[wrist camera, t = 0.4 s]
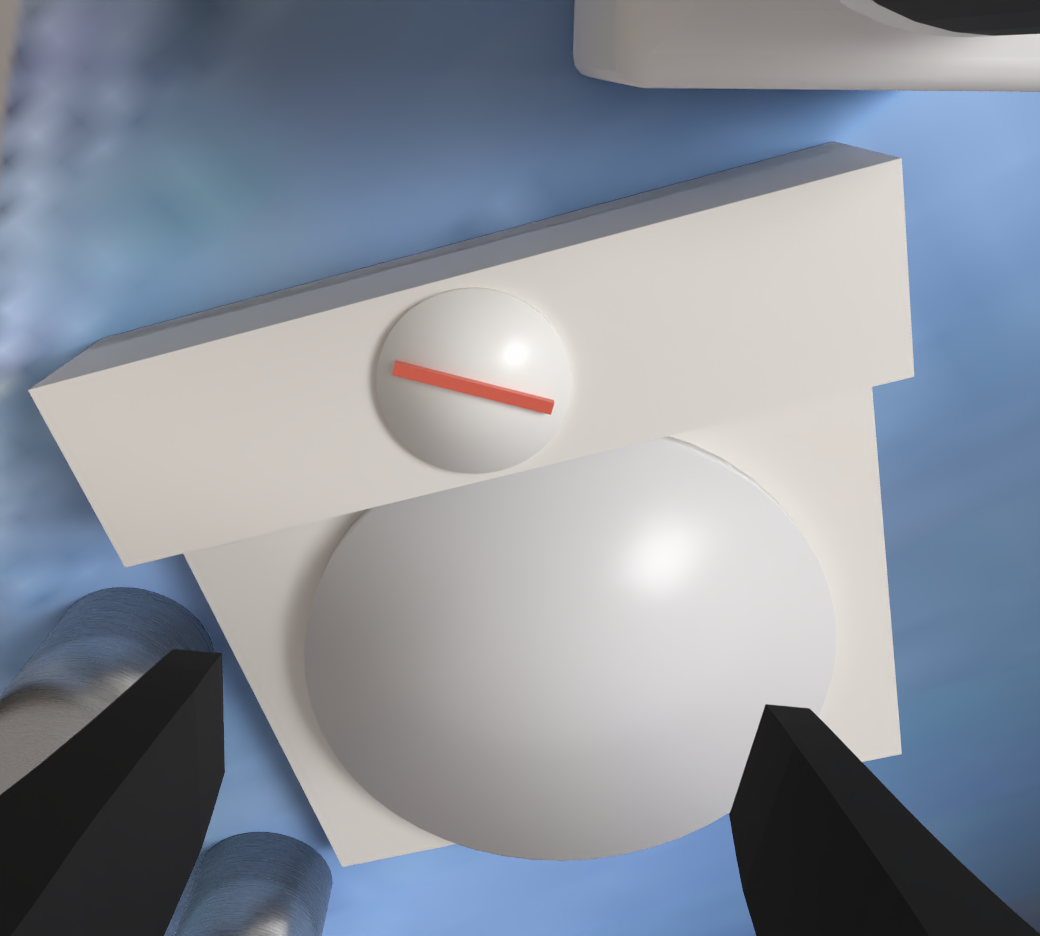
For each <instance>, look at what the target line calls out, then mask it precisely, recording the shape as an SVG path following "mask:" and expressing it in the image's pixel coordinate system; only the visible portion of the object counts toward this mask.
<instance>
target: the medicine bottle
mask: <svg viewBox="0 0 1040 936" xmlns="http://www.w3.org/2000/svg"><path fill="white" fill-rule="evenodd" d="M573 59H574V63H575V67H576V68H577V69H578V70H579V72H580V73H581V74H582V75H585V76H588V77H591V78H596V79H601V80H606V81H611V82H615V83H620V84H625V85H630V86H635V87H640V88H699V89H806V90H913V91H1020V92H1040V0H575V7H574V37H573Z"/></svg>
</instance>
